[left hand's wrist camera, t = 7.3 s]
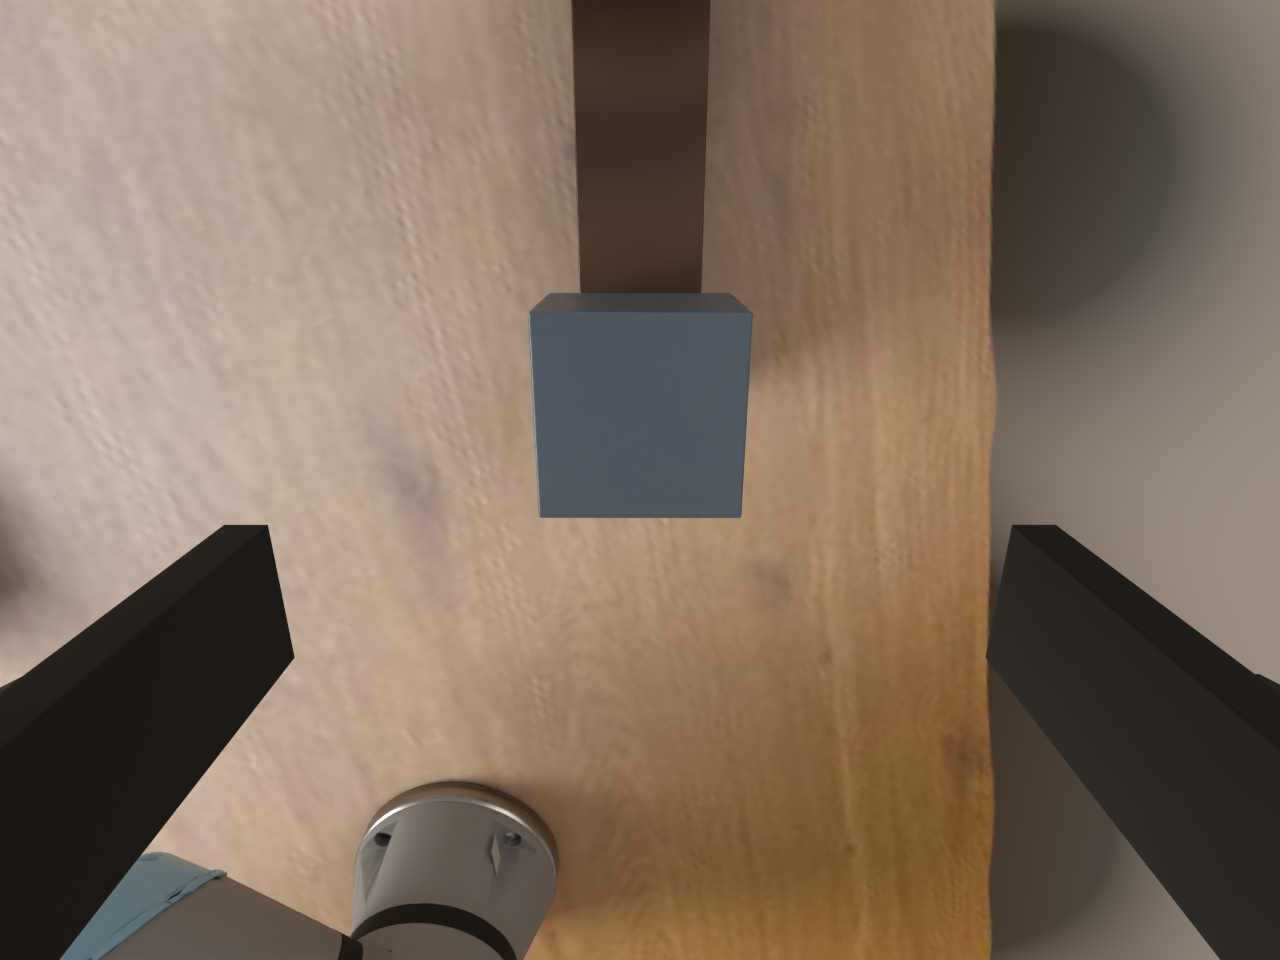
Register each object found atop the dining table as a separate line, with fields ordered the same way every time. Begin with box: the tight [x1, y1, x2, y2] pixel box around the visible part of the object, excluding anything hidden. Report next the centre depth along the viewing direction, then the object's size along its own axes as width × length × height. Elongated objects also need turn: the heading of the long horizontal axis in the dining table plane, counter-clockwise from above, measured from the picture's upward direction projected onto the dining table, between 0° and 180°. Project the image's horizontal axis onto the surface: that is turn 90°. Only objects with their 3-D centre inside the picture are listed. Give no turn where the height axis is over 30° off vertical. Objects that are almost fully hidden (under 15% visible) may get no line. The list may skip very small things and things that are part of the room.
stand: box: [571, 0, 710, 293], centre depth 31 cm, size 26×6×16 cm, turn 0°
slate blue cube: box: [528, 293, 753, 518], centre depth 26 cm, size 7×7×6 cm
